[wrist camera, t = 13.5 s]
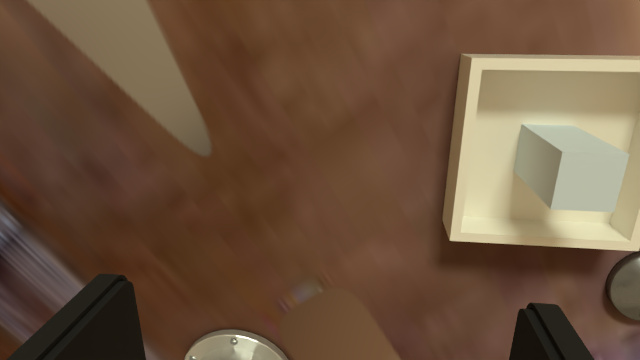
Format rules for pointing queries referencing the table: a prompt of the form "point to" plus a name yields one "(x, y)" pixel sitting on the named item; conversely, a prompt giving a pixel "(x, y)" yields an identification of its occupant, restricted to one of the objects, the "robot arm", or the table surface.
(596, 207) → the strut
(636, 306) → the grey round domed disc
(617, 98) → the dish
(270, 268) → the table surface
